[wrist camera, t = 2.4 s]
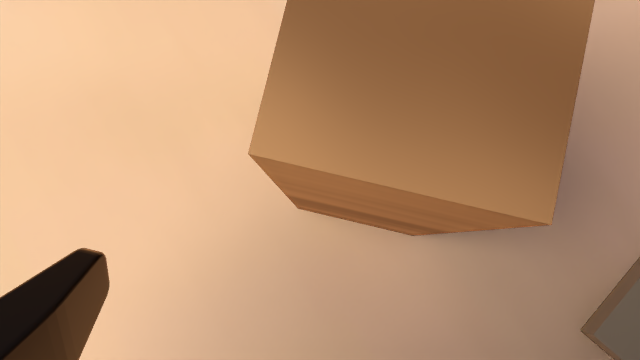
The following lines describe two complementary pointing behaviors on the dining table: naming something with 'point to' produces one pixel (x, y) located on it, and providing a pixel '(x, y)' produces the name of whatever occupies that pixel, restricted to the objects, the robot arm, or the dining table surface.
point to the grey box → (619, 319)
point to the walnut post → (423, 110)
